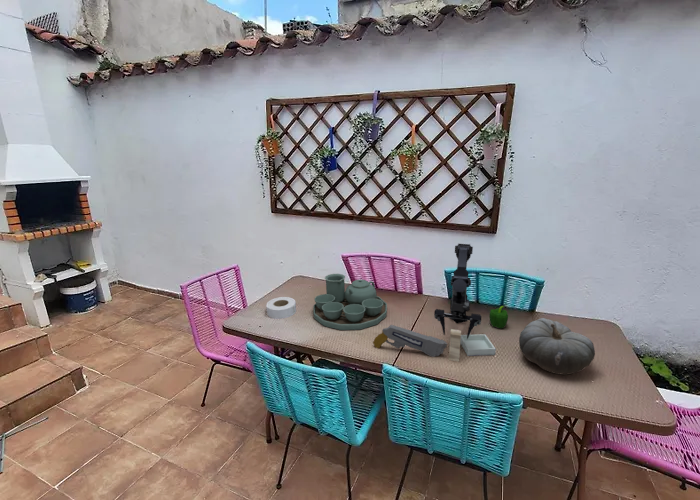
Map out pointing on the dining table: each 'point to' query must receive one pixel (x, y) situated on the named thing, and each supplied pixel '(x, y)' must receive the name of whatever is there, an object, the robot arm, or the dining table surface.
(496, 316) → the bell pepper
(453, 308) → the robot arm
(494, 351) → the tray
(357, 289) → the tea set
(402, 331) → the gun
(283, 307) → the roll of tape
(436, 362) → the dining table surface
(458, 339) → the handle block
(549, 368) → the gourd
